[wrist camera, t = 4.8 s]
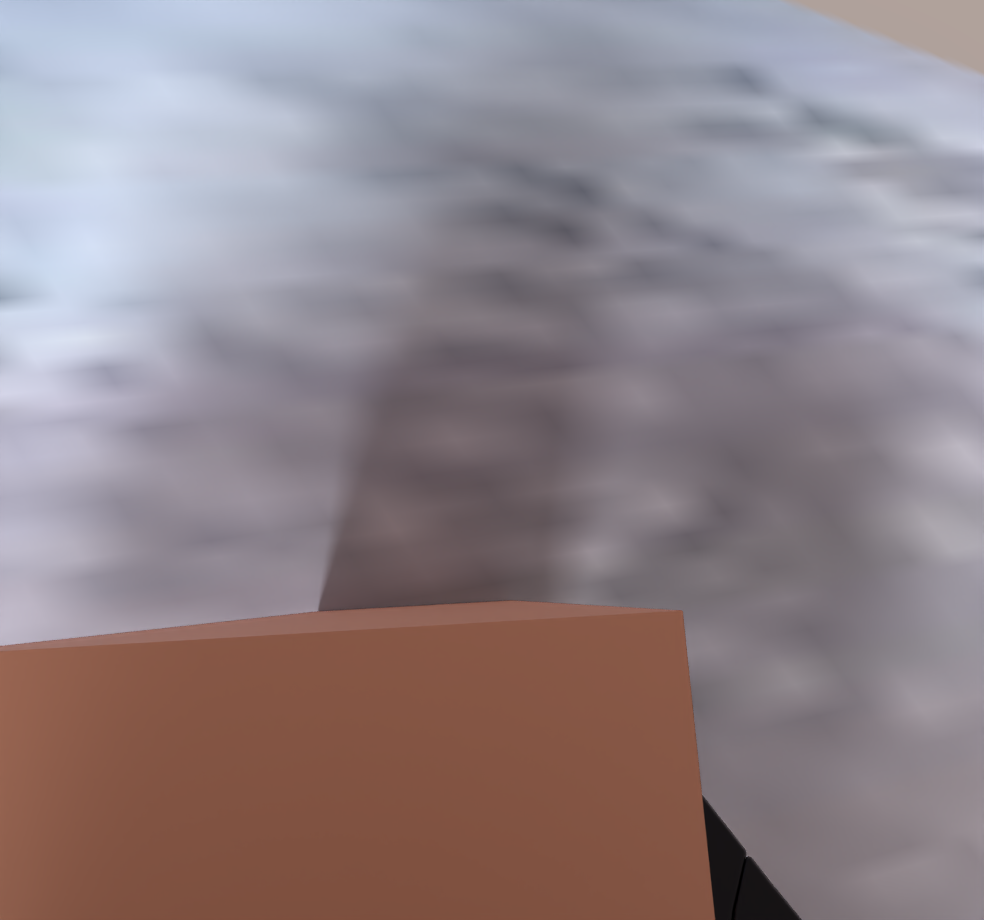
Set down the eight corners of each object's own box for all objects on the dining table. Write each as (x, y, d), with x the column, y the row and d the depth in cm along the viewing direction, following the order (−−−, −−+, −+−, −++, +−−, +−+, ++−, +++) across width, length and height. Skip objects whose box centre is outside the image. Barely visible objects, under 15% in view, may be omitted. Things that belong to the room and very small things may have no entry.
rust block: (523, 806, 16) (782, 1570, 3) (319, 821, 15) (-215, 1721, 3) (511, 599, 16) (681, 611, 4) (317, 611, 16) (-106, 658, 4)
